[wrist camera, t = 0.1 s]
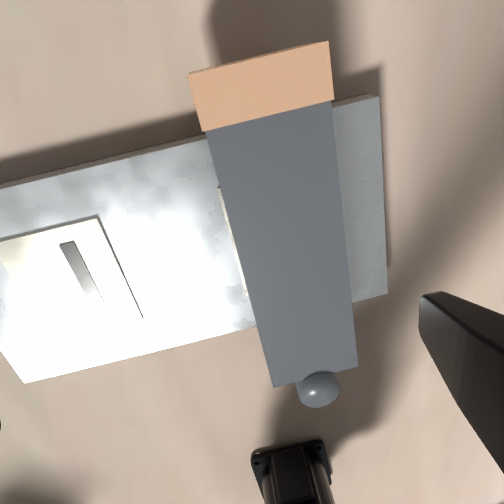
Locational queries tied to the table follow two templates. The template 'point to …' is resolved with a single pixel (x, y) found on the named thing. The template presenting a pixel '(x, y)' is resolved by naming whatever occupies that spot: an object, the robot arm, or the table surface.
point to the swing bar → (285, 208)
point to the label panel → (155, 250)
